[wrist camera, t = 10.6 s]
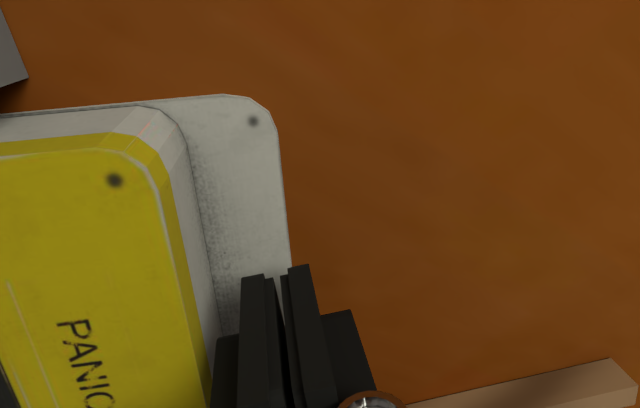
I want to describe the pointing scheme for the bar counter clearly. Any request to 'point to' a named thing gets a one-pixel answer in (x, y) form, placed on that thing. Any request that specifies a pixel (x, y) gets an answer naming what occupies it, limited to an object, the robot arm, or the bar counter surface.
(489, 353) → the bar counter surface
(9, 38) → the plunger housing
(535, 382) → the rail
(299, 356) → the robot arm
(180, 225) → the emergency button
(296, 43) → the bar counter surface
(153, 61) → the bar counter surface
